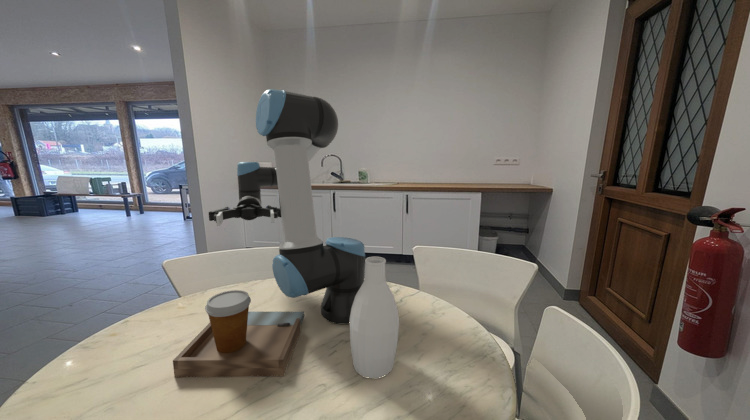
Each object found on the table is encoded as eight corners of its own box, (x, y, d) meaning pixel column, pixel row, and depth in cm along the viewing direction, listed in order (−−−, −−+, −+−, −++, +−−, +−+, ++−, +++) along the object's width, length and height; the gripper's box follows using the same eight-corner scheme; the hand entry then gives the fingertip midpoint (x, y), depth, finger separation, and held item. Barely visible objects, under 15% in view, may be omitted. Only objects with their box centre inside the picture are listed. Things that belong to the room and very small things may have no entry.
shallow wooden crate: (306, 317, 82) (305, 305, 82) (283, 376, 60) (283, 359, 59) (227, 317, 82) (226, 305, 81) (174, 377, 59) (172, 360, 58)
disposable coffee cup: (227, 363, 60) (223, 312, 58) (199, 350, 64) (194, 302, 62) (261, 339, 69) (259, 294, 67) (234, 329, 73) (232, 286, 71)
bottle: (407, 370, 62) (412, 262, 58) (365, 392, 56) (367, 273, 52) (379, 343, 71) (381, 248, 67) (340, 360, 65) (340, 256, 61)
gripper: (287, 216, 100) (293, 229, 81) (208, 220, 91) (194, 236, 72) (286, 196, 99) (292, 204, 80) (206, 198, 90) (191, 207, 71)
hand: (246, 219), depth 76 cm, fingers open, 13 cm apart
